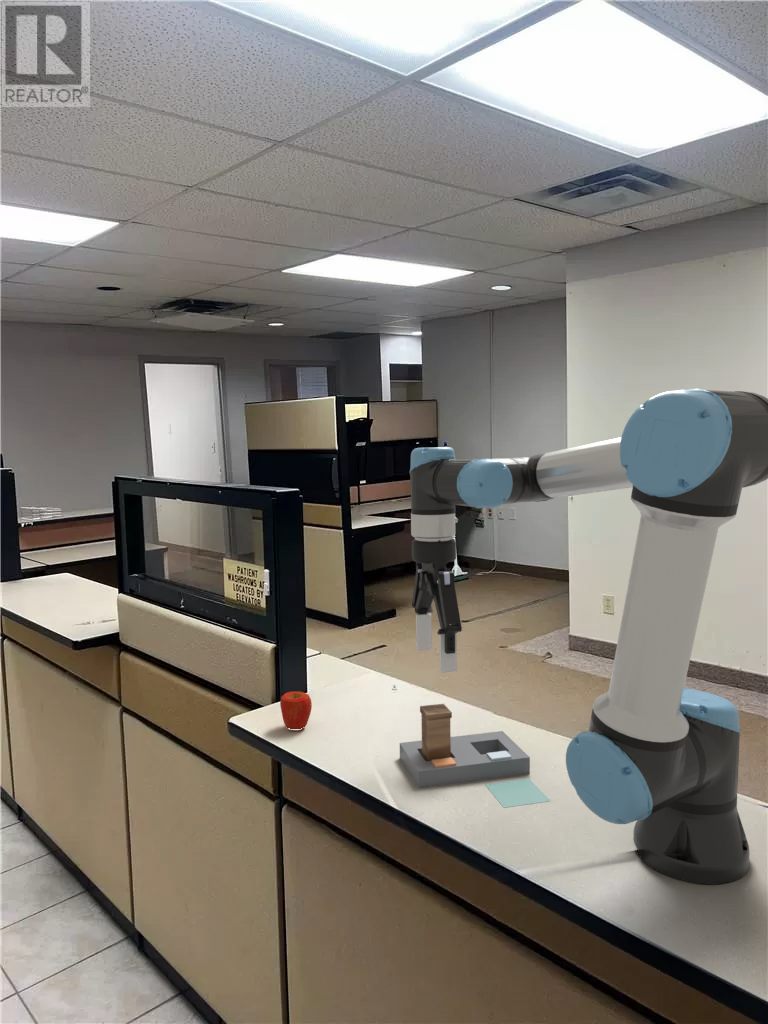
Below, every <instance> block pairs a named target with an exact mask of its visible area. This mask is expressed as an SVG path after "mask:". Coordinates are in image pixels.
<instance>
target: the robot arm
mask: <svg viewBox="0 0 768 1024" xmlns="http://www.w3.org/2000/svg"><path fill="white" fill-rule="evenodd" d="M409 477H410V479H409V480H410V508H411V513H410V532H411V533H410V535H411V536H412V537H413V538H414V539H413V540H412V541H411V559H412V561H413V562H416V563H415V571H416V572H415V578H414V586H413V591H412V592H413V593H412V603H411V607H412V608H413V609H414V613H415V627H416V628H415V633H416V634H415V635H416V638H415V639H416V643H415V644H416V651H417V652H419V651H429V650H433V629H432V625H433V623H432V617H433V616H432V613H434V610H433V607H432V605H433V603H434V606H435V611H436V613H437V618H438V623H439V628H438V630H437V631H436V633H437V635H438V636H439V637H438V640H439V641H438V642H439V643H438V647H439V672H440V673H441V674H444V673H453V672H454V673H455V672H458V670H457V669H458V658H457V657H458V654H457V653H458V652H457V650H458V649H457V647H458V645H457V633H459V632H462V631H463V627H462V621H461V617H460V616H461V615H460V609H459V603H458V598H457V591H456V587H455V586H456V585H455V572H454V571H447V564H448V563H452V562H455V560H456V559H457V540H455V538H454V536H455V535H456V523H458V521H459V519H458V518H457V517H456V506H463V507H469V508H470V507H471V508H474V509H478V510H479V509H495V508H499V507H500V506H502V505H507V504H508V505H509V504H516V503H530V502H533V503H534V502H536V503H539V502H547V501H549V500H555V499H557V498H565V497H571V496H580V495H587V494H593V493H600V492H608V491H615V490H624V489H629V488H632V489H631V490H632V491H631V496H630V500H631V501H632V503H633V504H634V505H635V507H636V508H637V510H638V511H639V513H640V520H639V524H638V525H639V526H638V530H637V536H636V541H635V546H634V552H633V556H632V563H631V568H630V573H629V579H628V584H627V590H626V594H625V601H624V605H623V609H622V610H623V611H622V616H621V621H620V628H619V633H618V639H617V643H616V650H615V654H614V658H613V665H612V670H611V677H610V681H609V686H608V690H607V691H606V692H604V693H602V694H600V695H598V696H597V697H596V698H595V699H594V701H593V705H592V708H591V709H592V711H591V715H590V720H589V726H588V729H587V730H585V731H582V732H579V733H578V734H576V736H574V737H573V738H572V739H571V740H570V742H569V743H568V745H567V748H566V752H565V766H566V771H567V776H568V778H569V780H570V781H569V782H570V783H571V785H572V786H573V788H574V789H575V791H576V792H575V793H576V795H577V796H578V798H579V799H580V800H581V802H582V803H583V804H584V805H585V806H586V807H587V808H588V810H590V812H592V813H593V814H594V815H596V816H597V817H598V818H600V819H602V820H604V821H605V822H608V823H611V824H614V825H627V824H630V823H633V822H635V824H634V827H633V842H634V844H635V846H636V848H637V849H634V851H635V853H636V854H637V856H638V857H639V858H640V859H641V860H642V861H643V863H645V864H647V866H649V867H651V868H652V869H654V870H656V871H658V872H660V873H662V874H664V875H666V876H668V877H671V878H674V879H678V880H680V881H685V882H691V883H696V884H703V885H704V884H706V885H713V884H714V885H717V884H725V883H726V884H727V883H730V882H734V881H736V880H739V879H741V878H742V877H744V876H745V875H746V874H747V873H748V871H749V870H750V869H749V868H750V854H751V853H750V851H751V850H750V846H749V842H748V839H747V836H746V832H745V830H744V827H743V823H742V820H741V816H740V814H739V811H738V810H739V809H738V786H739V783H738V781H739V764H740V763H739V761H740V759H739V757H740V739H741V737H740V734H741V733H742V731H741V728H740V712H739V709H738V708H737V706H736V705H735V704H734V703H733V702H732V701H730V700H729V699H727V698H724V697H722V696H720V695H716V694H713V693H710V692H706V691H702V690H697V689H691V688H687V687H686V688H685V686H686V680H687V676H688V670H689V666H690V661H691V658H692V657H691V656H692V652H693V647H694V643H695V640H696V639H695V638H696V634H697V628H698V624H699V619H700V615H701V610H702V605H703V601H704V596H705V592H706V588H707V587H706V586H707V584H708V583H707V582H708V577H709V574H710V568H711V564H712V559H713V554H714V549H715V545H716V540H717V537H718V531H719V529H720V527H721V526H723V525H724V524H726V523H728V522H729V521H731V520H733V519H734V518H736V516H737V512H738V509H739V508H738V507H739V504H740V500H741V494H742V490H743V488H748V487H752V486H755V485H758V484H760V483H762V482H765V481H767V480H768V397H766V396H763V395H760V394H759V393H756V392H749V391H738V390H737V391H735V390H734V391H727V390H715V389H714V390H712V389H711V390H710V389H701V388H684V389H678V390H676V389H675V390H669V391H665V392H664V391H663V392H660V393H659V394H656V395H654V396H651V397H650V398H648V399H647V400H645V402H644V403H642V404H640V405H639V406H638V407H637V408H636V409H635V410H634V412H633V413H632V414H631V415H630V416H629V418H628V420H627V422H626V424H625V426H624V429H623V432H622V434H621V436H620V437H616V438H612V439H607V440H601V441H597V442H593V443H588V444H587V443H586V444H583V445H579V446H573V447H570V448H563V449H559V450H555V451H550V452H545V453H544V452H543V453H540V454H534V455H530V456H529V455H528V456H522V457H503V458H502V457H501V458H500V457H499V458H497V457H495V458H492V457H491V458H471V459H469V458H464V459H462V458H461V459H456V454H455V449H454V448H452V447H449V446H447V447H445V446H444V447H443V446H439V447H438V446H437V447H417V448H416V447H415V448H414V449H413V450H412V451H411V453H410V469H409ZM433 601H434V602H433Z"/></svg>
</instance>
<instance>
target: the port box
mask: <svg viewBox="0 0 768 1024" xmlns="http://www.w3.org/2000/svg"><path fill="white" fill-rule="evenodd" d="M530 758H531V757H530V756H529V755H528V754H527V753H526V752H525V751H524V750H523V749H522V748H521V747H519V745H518V744H517V743H516V742H514V741H513V739H511V737H509V736H508V735H507V734H506V733H505V732H504V731H503V730H499V731H491V732H483V733H473V734H466V735H456V736H451V757H450V758H442V759H434V760H432V761H425V760H424V758H423V757H422V739H421V740H413V741H406V742H405V741H404V742H399V759H400V761H401V763H402V764H403V766H404V767H405V769H406V770H407V772H408V773H409V775H410V777H411V778H412V781H414V783H415V785H416V786H417V788H418V789H419V788H427V787H428V788H429V787H436V786H442V785H449V784H450V785H451V784H459V783H466V782H474V781H481V780H487V779H489V780H490V779H496V778H502V777H511V776H519V775H525V774H531V771H530V769H531V768H530V767H531V759H530Z"/></svg>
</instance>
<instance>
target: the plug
mask: <svg viewBox="0 0 768 1024" xmlns="http://www.w3.org/2000/svg"><path fill="white" fill-rule="evenodd" d="M419 712H420V713H421V717H420V718H421V740H422V757H423V758H424V760H425V761H432V760H434V759H442V758H450V757H451V737H452V736H451V719H452V717H453V714H452V713H453V712H452V711H451V710H450V709H449V708H448V707H447V705H446V704H445V703H437V704H435V703H434V704H427V705H426V704H425V705H419Z"/></svg>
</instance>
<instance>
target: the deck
mask: <svg viewBox="0 0 768 1024" xmlns="http://www.w3.org/2000/svg"><path fill="white" fill-rule="evenodd" d="M484 786H485V787H486V788H487V789H488V790H489V792H490V793H491V794H492V795H493V797H494V798H495V799H496V800H497V801H498V803H499V804H500V805H501V806H502V808H504V809H507V808H513V807H519V806H525V805H533V804H541V803H546V802H551V799H550V798H549V797H548V796H547V795H546V794H545V793H544V792H543V791H542V790H541V789H540V788H539V787H538V786H537V785H536V784H535V783H534V782H533V781H532V780H531V779H530V778H525V779H518V780H510V781H501V782H496V783H488V784H487V783H486V784H485V785H484Z"/></svg>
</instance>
